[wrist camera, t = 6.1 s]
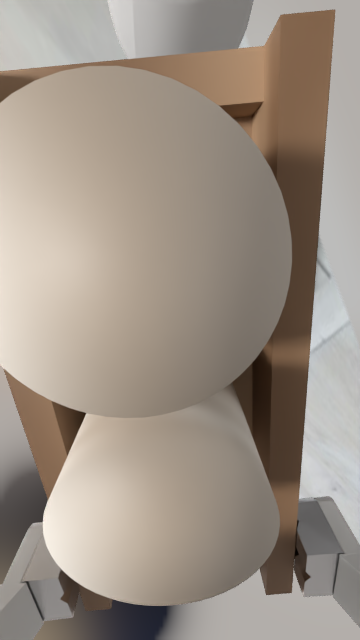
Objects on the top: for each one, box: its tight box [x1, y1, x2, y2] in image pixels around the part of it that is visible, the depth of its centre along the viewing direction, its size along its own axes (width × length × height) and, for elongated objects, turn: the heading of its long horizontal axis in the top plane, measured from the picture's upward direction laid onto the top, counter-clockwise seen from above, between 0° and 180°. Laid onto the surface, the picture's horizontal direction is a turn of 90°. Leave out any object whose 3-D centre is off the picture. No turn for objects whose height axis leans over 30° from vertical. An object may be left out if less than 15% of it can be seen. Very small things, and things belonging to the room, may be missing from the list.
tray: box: [0, 10, 335, 611], centre depth 7 cm, size 6×14×5 cm, turn 5°
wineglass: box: [108, 0, 253, 59], centre depth 19 cm, size 8×8×21 cm
